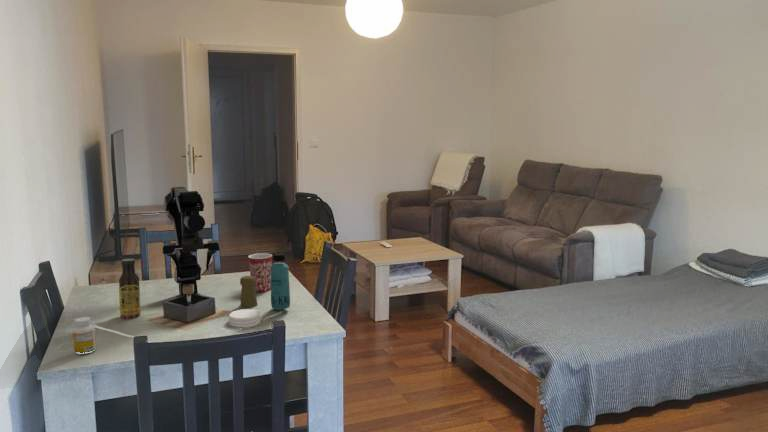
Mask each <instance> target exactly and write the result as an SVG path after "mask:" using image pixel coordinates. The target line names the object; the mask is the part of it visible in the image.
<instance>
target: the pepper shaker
mask: <svg viewBox="0 0 768 432" xmlns="http://www.w3.org/2000/svg"><path fill="white" fill-rule="evenodd" d="M239 284H240V286H241V295H240V308H243V309H253V308H255V307H257V306H258V300H257V294H256V292H255V288H254V284H255V278H254V277H253V276H251V275H244V276H242V277H240V279H239Z"/></svg>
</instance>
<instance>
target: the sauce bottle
mask: <svg viewBox="0 0 768 432" xmlns="http://www.w3.org/2000/svg"><path fill="white" fill-rule="evenodd" d="M135 264H136V260H135V258H124V259H122V260H121V267H122V271H121V274H120V277H119V279H118V283H119V284H118V285H119V287H118V291H119V292H118V295H119V314H120V319H121V320H132V319H136V318H137V319H138V318H139V317H140V316H141V292H140V291H141V290H140V277H139V276H138V275H137V274H136V273H137V272H136V267H135Z"/></svg>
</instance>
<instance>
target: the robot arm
mask: <svg viewBox="0 0 768 432" xmlns="http://www.w3.org/2000/svg"><path fill="white" fill-rule="evenodd" d="M163 207H164V212H166V215H167V218H168V219H169V220H170V221H171V222H172V224H173V230H174V236H175V241H176V242H166V243H165V244H163V246H162V254H163V255H166V256H167V257H170V258H171V259H172V261H173V262H174V264H175V267H174V273H173V278H174V279H173V280H174V282H175V283H176V284H178V290H179V291H178V293H179V294H177V295H176V297H180V296H183V295H186V294H183V288H182V287H183V285H186V284H194V294H199V295H201V293H199V292H198V290H199V289H198V284H197V281H201V280H202V277H201V275H202V267H201V265H200V264H199V263H198V259H197V256H196V254H193V253H197V252H198V250H205V249H207V251H206V265H205V266H206V267H205V268H206V269H205V270H206V271H208V270H209V267H210V263H211V258H212V256H213V255H214V254H216V253H217V251H218V252H219V251H220V250H221V242H220V240H218V239H216V240H207V243H205V242H204V238H203V236H201V234H200V231H202V230H203V229H204V228H205V226H206V221H205V218H204V216H202V215H200V212H204V210H205V203H204V201H203V197H202V195H201V193H199V192H198V190H190V191H189V190H187V189H186V187H184V186H175V187H173V186H172V187H171V188H170V191H169V193H167V194H166V196H165V197H164V202H163Z"/></svg>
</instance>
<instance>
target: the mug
mask: <svg viewBox="0 0 768 432" xmlns="http://www.w3.org/2000/svg"><path fill="white" fill-rule="evenodd" d="M247 257H248V263H249V264H248V265H249V273H250V274H249V276H253V277H254V278H255V284H254V288H255V293H264V292H269V291H270V288H271V275H270V267H271V266H272V261H273V254H271V253H267V252H263V253H262V252H261V253H253V254H252V253H251V254H250V255H248V256H247Z"/></svg>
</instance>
